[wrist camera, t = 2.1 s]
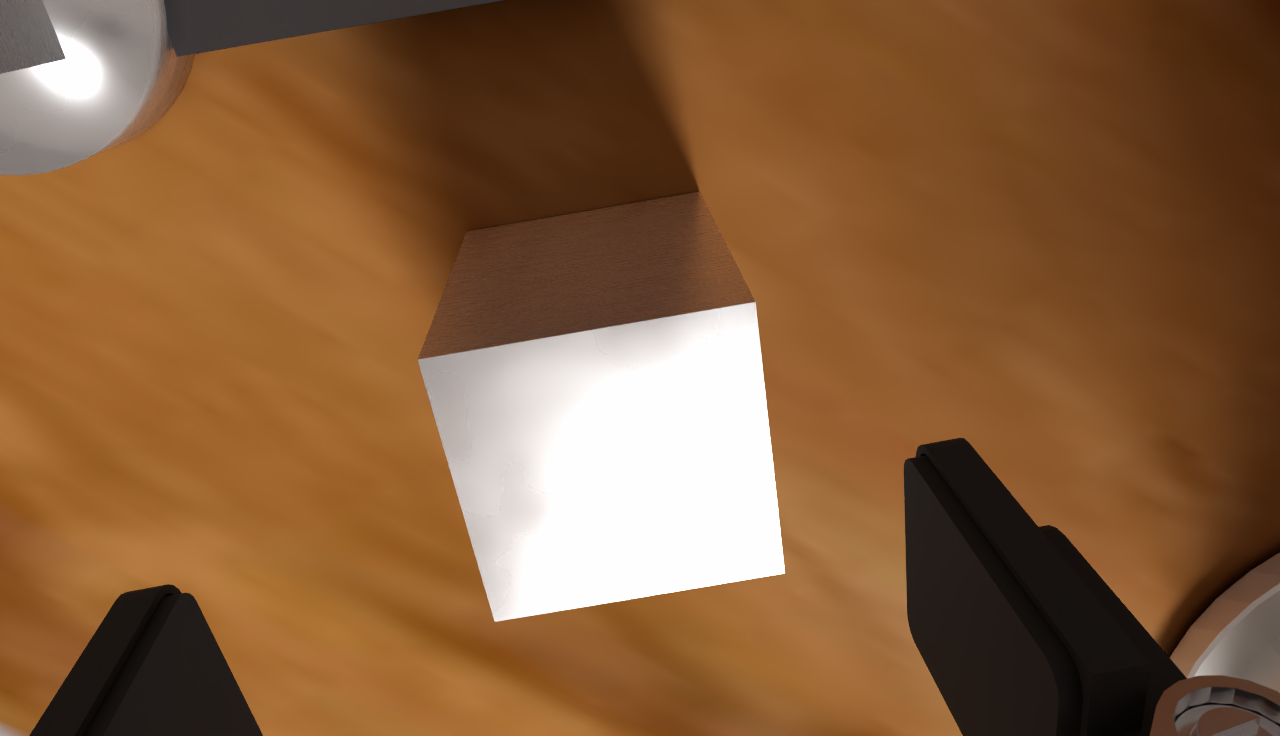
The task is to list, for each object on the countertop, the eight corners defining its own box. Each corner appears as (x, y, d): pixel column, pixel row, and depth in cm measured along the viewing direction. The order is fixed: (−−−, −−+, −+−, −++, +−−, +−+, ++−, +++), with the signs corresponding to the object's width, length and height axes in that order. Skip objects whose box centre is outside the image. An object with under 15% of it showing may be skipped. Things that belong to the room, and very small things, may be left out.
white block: (699, 191, 20) (755, 301, 14) (726, 398, 23) (785, 573, 16) (466, 231, 20) (417, 359, 14) (517, 433, 23) (494, 621, 16)
